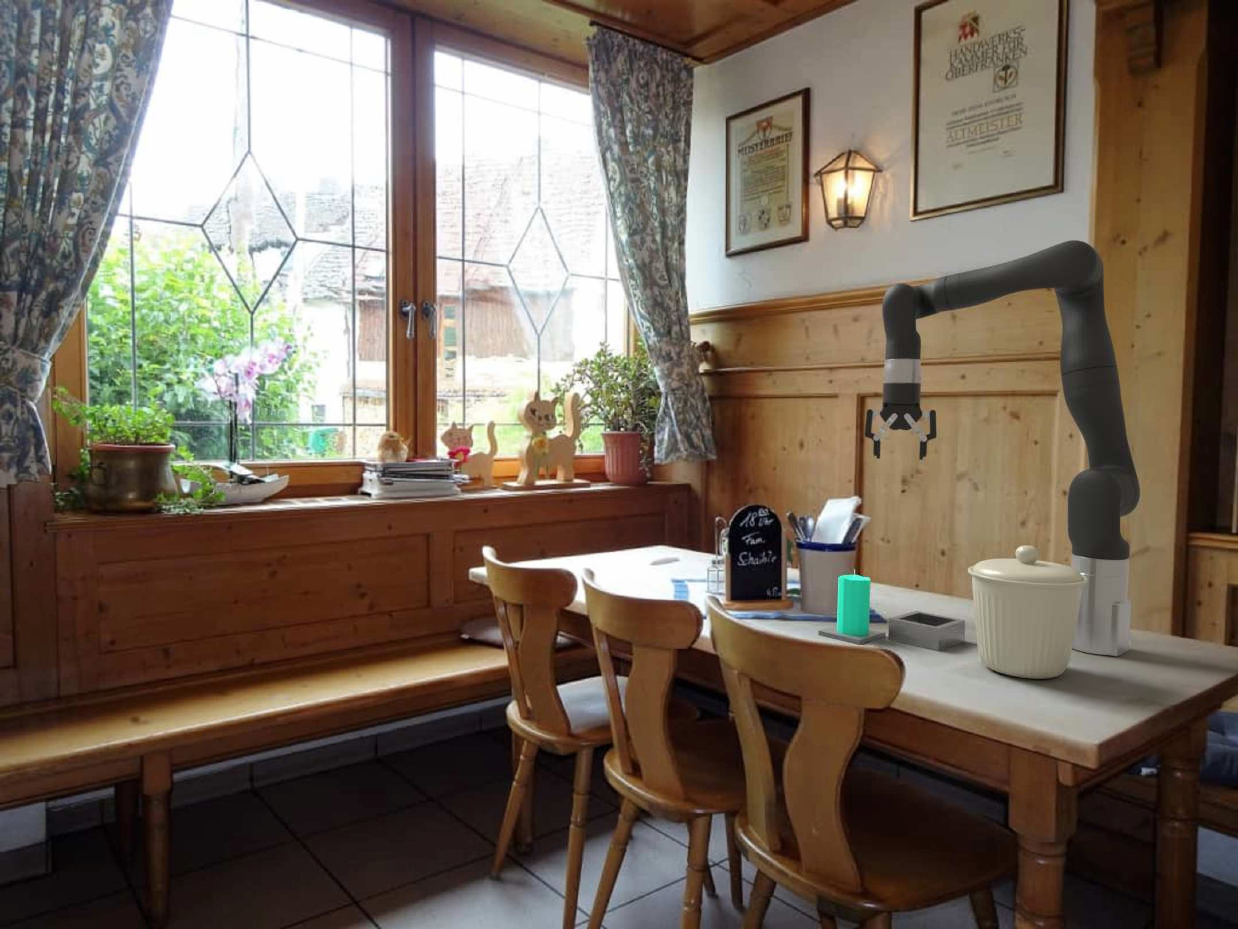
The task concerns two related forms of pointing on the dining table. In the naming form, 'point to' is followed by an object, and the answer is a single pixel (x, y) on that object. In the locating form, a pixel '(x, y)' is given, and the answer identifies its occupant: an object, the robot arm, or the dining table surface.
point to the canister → (1026, 614)
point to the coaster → (855, 639)
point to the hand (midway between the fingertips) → (899, 459)
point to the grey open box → (926, 630)
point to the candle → (853, 604)
